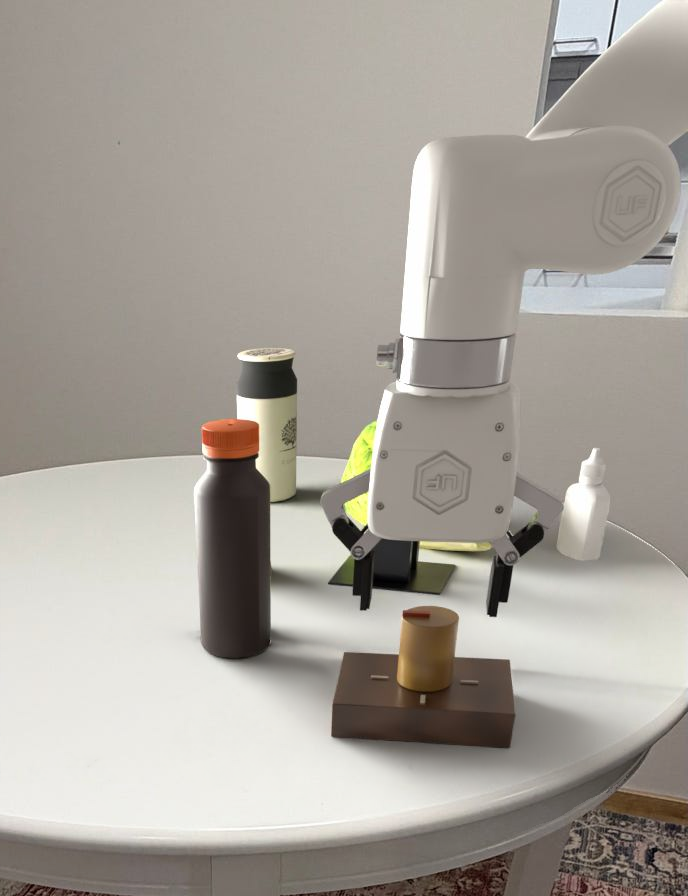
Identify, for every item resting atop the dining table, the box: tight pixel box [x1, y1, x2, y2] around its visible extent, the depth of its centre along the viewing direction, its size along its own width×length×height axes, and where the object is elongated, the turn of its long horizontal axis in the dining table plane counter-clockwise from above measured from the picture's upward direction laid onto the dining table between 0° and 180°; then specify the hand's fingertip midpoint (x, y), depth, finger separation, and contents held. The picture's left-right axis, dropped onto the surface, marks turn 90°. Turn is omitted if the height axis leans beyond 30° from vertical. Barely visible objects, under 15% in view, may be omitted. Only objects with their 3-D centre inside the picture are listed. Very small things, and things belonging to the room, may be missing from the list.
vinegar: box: [193, 418, 272, 659], centre depth 87 cm, size 7×7×20 cm
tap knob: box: [397, 605, 460, 692], centre depth 76 cm, size 4×4×6 cm
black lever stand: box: [327, 538, 456, 596], centre depth 100 cm, size 12×9×13 cm
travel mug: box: [236, 347, 298, 503], centre depth 128 cm, size 8×8×18 cm
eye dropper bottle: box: [556, 447, 611, 562], centre depth 104 cm, size 4×6×12 cm
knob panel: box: [330, 651, 516, 749], centre depth 79 cm, size 14×10×3 cm
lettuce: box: [340, 418, 493, 552], centre depth 111 cm, size 15×24×14 cm, turn 22°
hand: (427, 607), depth 74 cm, fingers open, 9 cm apart
